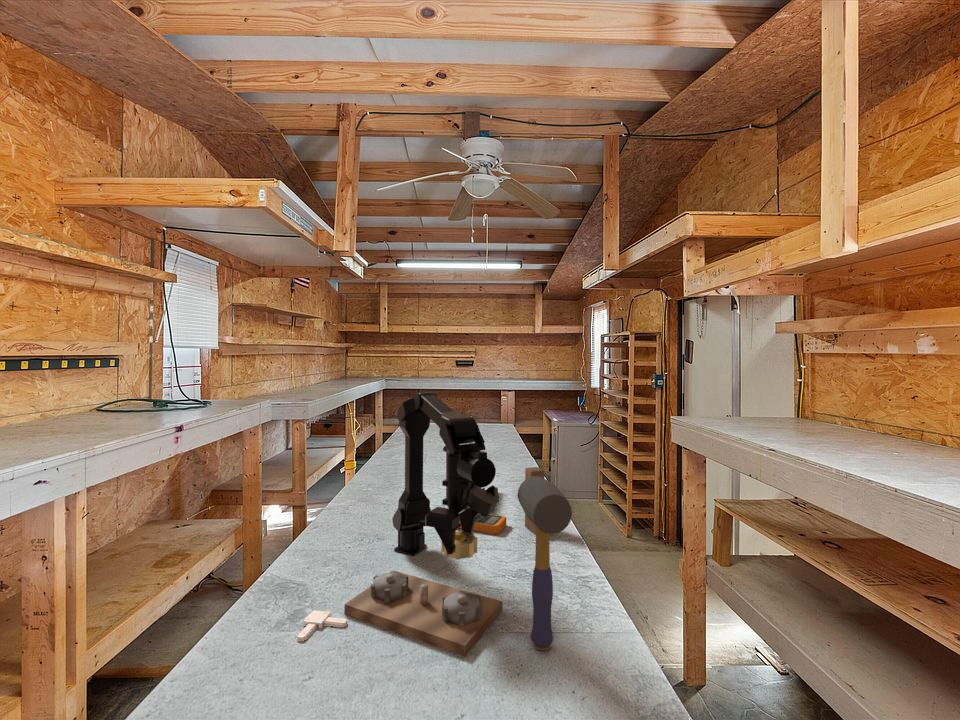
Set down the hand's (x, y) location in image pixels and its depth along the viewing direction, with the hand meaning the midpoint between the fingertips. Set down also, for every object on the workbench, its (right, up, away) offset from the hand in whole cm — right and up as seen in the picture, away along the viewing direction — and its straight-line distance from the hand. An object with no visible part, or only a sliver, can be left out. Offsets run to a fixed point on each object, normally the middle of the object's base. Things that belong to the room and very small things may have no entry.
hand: (459, 546), depth 99 cm
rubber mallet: (+16, -12, -16) cm, 25 cm away
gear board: (-7, -11, -6) cm, 14 cm away
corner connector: (-26, -12, -11) cm, 31 cm away
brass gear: (0, -1, 0) cm, 1 cm away
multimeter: (+3, -11, +40) cm, 42 cm away
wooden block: (+22, -11, +37) cm, 44 cm away
